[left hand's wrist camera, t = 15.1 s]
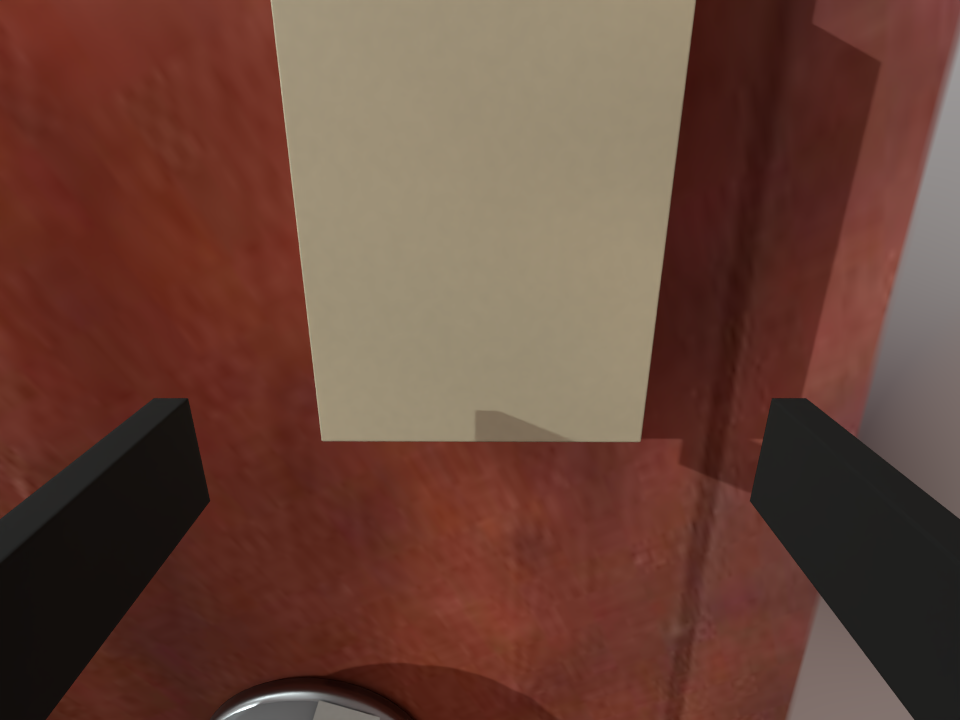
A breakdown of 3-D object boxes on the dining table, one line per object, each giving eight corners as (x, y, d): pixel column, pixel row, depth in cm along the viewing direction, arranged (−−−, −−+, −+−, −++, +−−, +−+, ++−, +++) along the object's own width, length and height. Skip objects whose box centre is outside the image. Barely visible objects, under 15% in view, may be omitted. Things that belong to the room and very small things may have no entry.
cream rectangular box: (334, -83, 20) (244, -221, 13) (631, -81, 20) (724, -220, 13) (367, 354, 27) (321, 441, 19) (594, 355, 27) (640, 442, 19)
